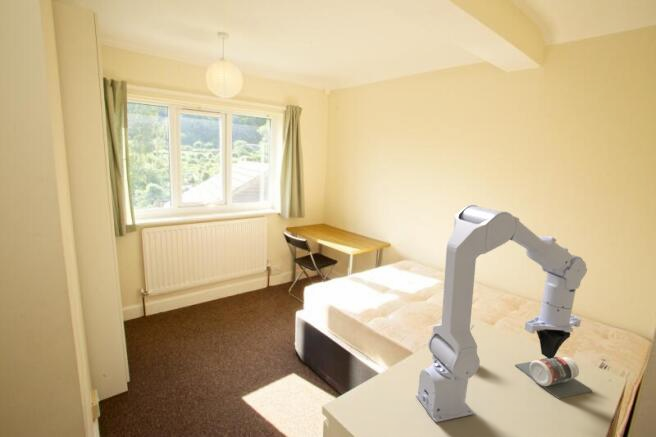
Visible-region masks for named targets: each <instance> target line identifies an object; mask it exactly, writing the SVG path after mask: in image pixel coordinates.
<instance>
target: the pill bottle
mask: <svg viewBox="0 0 656 437" xmlns="http://www.w3.org/2000/svg"><path fill="white" fill-rule="evenodd" d="M530 362H531V364H530V373H531V375H532V377H533V379H534V380H535V381H536V382H535V381H534V380H533V379H532V380H533V381H534V382H535V383H537V384H538V385H539V384H540V385H539V386H541V385H543V386H549V385H554V384H558V383H563V382H567V381H570V380H571V379H572V378H575V379H576V378H577V377H578V376H579V374H580V369H579V366H578V365H577V363H576V362H575V361H574V360H573V359H572V358H570V357H560V356H554V357H553V358H550V359H549V358H547V357H546V358H541V359H535V360H533V361H530Z"/></svg>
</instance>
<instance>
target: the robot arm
mask: <svg viewBox="0 0 656 437" xmlns="http://www.w3.org/2000/svg"><path fill="white" fill-rule="evenodd" d="M453 220H454V222H453V230H452V232H451V235H450V237H449V239H448V241H447V243H446V251H445V254H446V255H445V268H444V280H443V281H444V283H443V284H444V285H443V298H442V299H443V300H442V312H441V314H442V315H441V322H440V323H437V324H435V325H433V327H432V333H431V335H430V337H429V339H428V344H427V345H428V346H427V347H428V349H429V352H430V353H431V354H432V357H431V358H432V362H433V363H432V364H431V365H429V367H427V368H424V369H422V370H421V371H420V373H419V378H418V379H419V380H418V391H417V392H416V393H415V397H416V398H417V399H418V401H419V402H420V404H421V405H422V406H423V408H424V409H425V410H426V411H427V413H428V414H429V416H430V417H431V418H432V420H433V421H434V423H435V422H436V423H439V422H444V421H447V420H448V421H449V420H451V419H457V418H462V417H466V416H471V415H474V410H473V409H472V408H471V407H470V406H469V405H468V404H467V402H466V399H467V390H468V382H469V379H470V378H472V377H473V376H474V375H475V374H476V373H477V372H478V370H479V367H480V364H481V362H480V361H481V360H480V357H479V354H478V344H477V342H476V340H475V338H474V337H473V334H472V332H471V331H470V329H471V320H472V319H471V317H472V308H473V298H474V296H473V295H474V287H475V286H474V285H475V275H476V263H477V258H478V257H479V256H481V255H485V254H487V253H489V252H492V251H493V250H494V249H497V248H498V247H501V246H503V245H505V244H506V243H508V242H510V241H512V242H514V243H516V244H518V245H520V246H521V247H523V248H524V249H525V254H526V256H527V257H528V259H531V260H532V261H534V262H535V263H537V264H538V265H539V266H540V267H541V269H542V271H543V272H544V273H546V276H545V281H544V287H543V294H542V300H541V306H540V312H539V315H537V316H535V317H534V318H532V319H531V320H527V321H525V323H524V330H525V331H527V332H529V333H530V334H535V333H536V334H537V336H538V340H539V345H540V352H541V355H543V356H544V357H546V358H549V359H550V358H553V357H556V354H557V352H558V351H559V349H560V347H562V344H564V342H565V341H567V340H568V339H569V338H570V337H571V332H573V331H574V328H573V327H575V328H580V327H581V324H582V323H581V322H582V319H581V318H579V317H577V316H576V315H572V311H573V306H574V300H575V295H576V290H577V289H579V287H580V286H581V282H582V280H583V279H584V278H585V276H586V274H587V271H588V268H587V264H586V261H585V260H583V259H584V258H582V257H581V256H577V255H574V254H571V253H570V252H569V249H568V248H566V247H564V246H562V245H561V246H560V245H559V244H558V243H557V242H556V241H557V239H556V238H555V237H552V236H550V235H547V236H545V235H538V236H537V234H536V233H534V232H533V231H532V230H531V229H529V228H528V227H527V226H526V225H525V224H523V223H522V222H521V221H520V218H519V217H517V216H514V215H512V214H511V212H508V211H500V210H495V209H491V208H485V207H481V206H478V205H475V204H469V205H467V206H465V207H463V208H462V209H461V210H460V211H459V212H457V213H456V214H455V215H454V219H453Z"/></svg>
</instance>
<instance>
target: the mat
mask: <svg viewBox="0 0 656 437" xmlns="http://www.w3.org/2000/svg"><path fill="white" fill-rule="evenodd" d="M531 362H532V361H528V362H522V363H516V364H515V365H514V367H516V368H517V369H518V370H520V371H521V372H522V373H524V374H525V375H526V376H528V377H529V378H530V379H531V380H533V382H535V383H537V382H536V381H535V380H534V379H533V377H532V375H531V373H530V364H531ZM538 385H539V386H541V387H542V388H544V390H546V391H547V392H548V393H550V394H551V395H553V397H555V398H556V399H558V400H559V399H564V398H568V397H572V396H578V395H581V394H587V393H590V392H592V391H593V389H591V388H590V387H588V386H586V385H585V384H584V383H582V381H579V380H578V379H576V377H575V378H572V379H571V380H570V381H567V382H563V383H558V384H554V385H549V386H543V385H540V384H538Z"/></svg>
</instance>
